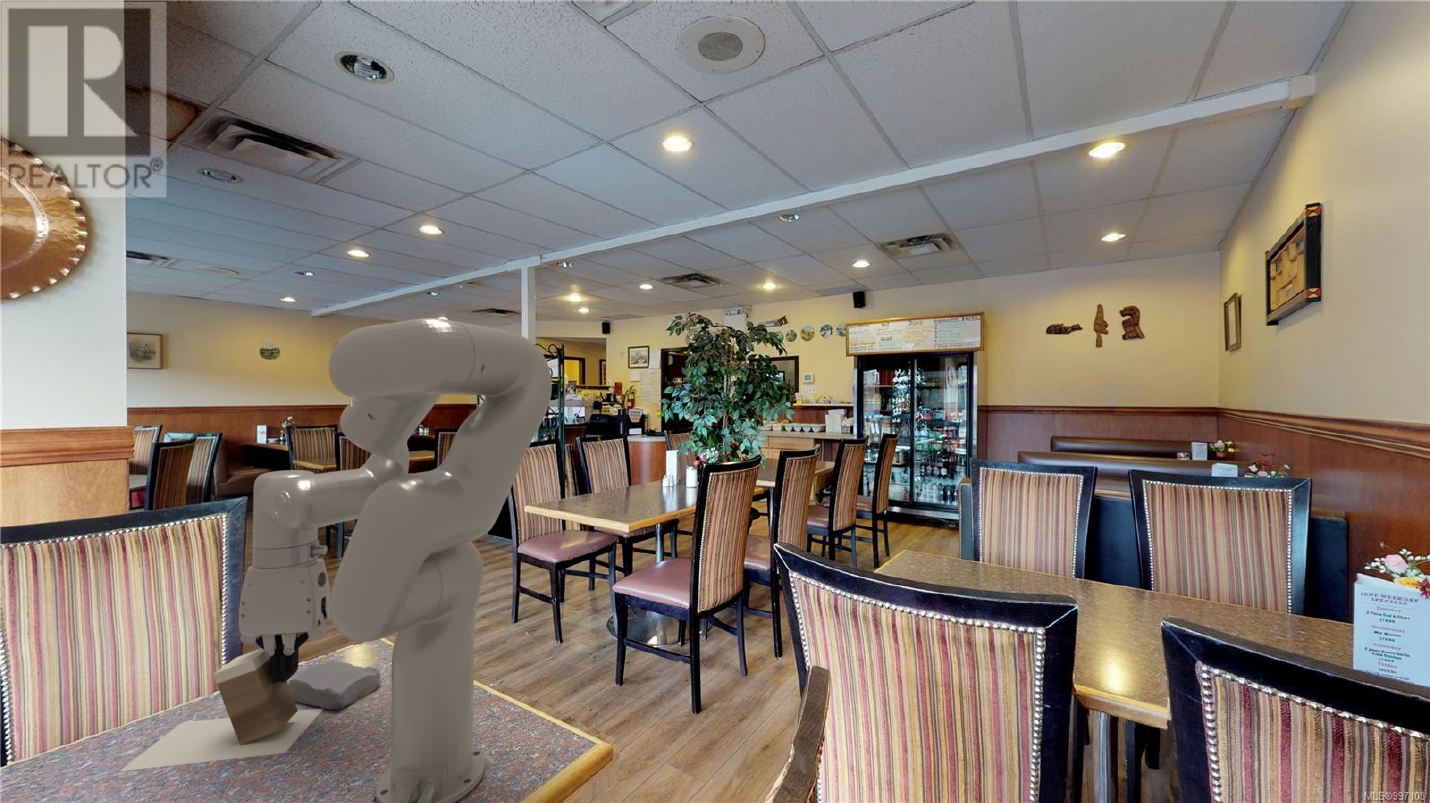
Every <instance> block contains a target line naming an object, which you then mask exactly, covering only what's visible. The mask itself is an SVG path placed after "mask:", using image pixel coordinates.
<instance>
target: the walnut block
mask: <svg viewBox="0 0 1430 803" xmlns="http://www.w3.org/2000/svg"><path fill="white" fill-rule="evenodd" d="M269 661H270V656H266V655H265V650H263V649H262V648H259V649H257V650H254V651H253V650H252V651H250V652H248V653H244V654H243V655H240V656H239V655H238V656H236V657H235V658H233V659H232V660H231V661H229V662H228V663H227V664H225V665H223V666H222V667H221V668H219V669H217V671H215V672H214V673H213V674H212V675H213V677H214V680H215V683H216V686H217V688H218V691H219V693H220V697H221V699H222V701H223V704H224V706H225V709H226V711H227V715H228V718H230V720H231V723H232V725H233V728H234V731H235V733H236V736H237V738H238V741H239V744H240V745H243V744H245V743H248V742H251V741H253V740H256V739H259V738H261V737H264V736H266V735H269V734H272V733H274V732H277V731H279V730H280V729H281V728H282V727H283V726H284V725H285V724H286V723H287V722H288V721H289V720H290V719H291V718H292V717H293V716H294V714H295V713H296V712H297V711H299V710H298V707H297V705H296V702H295V701H294V699H293V697H292V694H291V691H290V689H289V686H288V684H289V682H288V680H287V681H286V682H285V683H280V682H277V683H271V677H272V675H270V674H269Z"/></svg>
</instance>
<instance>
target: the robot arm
mask: <svg viewBox="0 0 1430 803" xmlns="http://www.w3.org/2000/svg"><path fill="white" fill-rule="evenodd" d="M328 359H329V360H328V374H329V378H330V381H331V384H332V385H333V386H334V388H335V389H336V390H337V391H338V392H340V393H341V394H342V395H345V396H347V397H350V398H352V399H351V400H350V402H349V403H348V404H347V406H346V407H345V409H344V410H343V412H342V413H341V415H340V419H339V425H340V430H341V431H342V433H343V435H344V436H345V437H346V438H347V439H348V440H349V441H350V442H351V443H352V444H354V445H355V446H357V447H358V448H361V449H362V450H364V451H366V452H368V453H371V455H370V456H369V458H368V459H367V460H366V461H365V463H364V464H362V465H361V467H359V468H354V469H345V470H336V471H328V472H321V473H315V472H313V471H310V470H304V469H303V470H302V469H301V470H300V469H290V470H285V469H284V470H276V471H271V472H270V471H269V472H265V473H262V474H260V475H258V476H257V477H256V479H255V480H254V482H253V483H254V484H253V502H252V504H253V509H252V510H253V512H252V513H253V514H252V515H253V520H252V564H251V566H249V567H248V568H247V570H246V573H245V576H244V579H243V584H242V588H241V594H240V600H239V601H240V602H239V609H238V610H239V611H238V629H239V633H240V634H241V635H240V638H239V640H240V642H242V643H247V644H254V645H255V644H256V645H257V646H258V647H259V648H260V649H263V650H265V655H266V656H270V661H269V674H270V675H272V677H271V683H277V682H280V683H285V682H286V681H287V682H288V681H289V679H291V678H292V677H293V676H294V675H296V672H297V671H298V669H299V662H300V660H299V659H300V658H299V656H300V655H299V652H300V651H299V650H300V649H299V648H301V647H302V646H303V644H305V643H306V642H307V641H312V640H314V639H318V638H322V637H323V636H324V635H325V634H326V633H327V632H328V627H327V623H326V621H328V619H329V618H330V617H331V619H332V622H333V625H334V626H335V629H336V630H337V632H339V633H340V635H342V636H343V637H344V638H346V639H348V640H350V641H353V642H356V643H357V642H358V643H359V642H360V643H369V642H374V641H378V640H382V639H384V638H387V637H389V636H392V635H394V634H396V633H397V634H396V636H395V640H394V643H393V647H392V648H393V649H392V655H391V688H390V689H391V690H390V691H391V693H390V694H391V696H390V697H391V699H390V766H389V767H388V768H387V769H386V770H385V771H384V772H383V773H382V775H381V776H380V778H379V779H378V781H377V784H376V787H375V800H376V803H456V802H457V801H460V800H461V799H462V798H464V797H465V796H467V795H468V794H469V793H470V792H471V791H473V790H474V789H475V787H476V786H477V785H478V784H479V783H480V781H481V780H482V779H483V778H482V777H483V776H484V773H485V771H486V757H485V753H484V752H483V751H482V749H480V748H479V747H478V746H476V745H475V744H474V684H475V683H474V681H475V680H474V674H475V672H474V669H475V668H474V667H475V666H474V664H475V663H474V662H475V658H474V657H475V627H476V615H477V609H478V604H479V598H480V593H481V590H482V584H483V577H484V563H483V559H482V555H481V554H480V551H479V550H478V548H477V547H476V545H475V544H474V543H473V542H472V541H474V540H477V539H479V538H481V537H483V536H484V535H486V534H487V533H488V532H489V531H491V529H492V528H493V526H494V525H495V524H496V522H497V519H498V518H499V515H500V513H501V511H502V509H503V506H504V504H505V502H506V500H507V497H508V495H509V493H510V490H511V489H512V487H513V485H514V482H515V480H516V477H517V475H518V473H519V470H520V468H521V465H522V462H523V460H524V458H525V457H526V453H527V451H528V449H529V448H530V445H531V443H532V441H533V440H534V438H535V436H536V434H537V433H538V430H539V428H540V427H541V424H542V422H543V420H544V418H545V416H546V414H547V411H548V408H549V406H550V403H551V402H550V401H551V397H552V387H553V385H552V374H551V370H550V367H549V365H548V364H549V363H548V361H547V359H546V357H545V356H544V354H543V352H542V350H540V348H539V347H538V346H537V345H536V344H534V342H533V341H531V340H530V339H528V338H527V337H525V336H522V335H521V334H518V333H516V332H513V331H509V330H506V329H501V328H496V327H490V326H485V325H478V324H473V323H467V322H462V321H455V320H451V319H450V320H449V319H445V318H444V319H443V318H433V317H432V318H430V317H427V318H414V319H408V320H402V321H396V322H390V323H382V324H376V325H375V324H374V325H370V326H369V325H368V326H363V327H360V328H357V329H354V330H352V331H350V332H348V333H346V334H345V335H344V336H343V337H341V338H340V340H339V341H338V342H337V343H336V344H335V346H334V348H333V349H332V352H331V353H330V357H329V358H328ZM443 395H456V396H458V395H461V396H465V395H466V396H470V395H471V396H481V395H482V396H484V400H483V401H482V402H481V403H480V405H479V406H478V407H477V408H476V409H475V410H473V411H472V413H470V414H469V416H467V418H465V420H464V421H463V422H462V424H461V425H460V427H459V429H458V430H457V431H456V433H455V435H454V437H453V439H452V442H451V445H450V448H449V450H448V452H447V453H446V456H445V458H444V460H443V461H442V462H441V464H440V465H439V466H438V467H436V468H434V469H432V470H429V471H428V470H427V471H421V472H416V473H409V467H410V451H409V447H408V445H407V442H408V440H409V439H410V437H411V436H412V435H413V434H414V432H415V431H416V429H418V427H419V425H420V424H421V423H422V421H423V420H424V419H425V418H426V416H428V414H429V413H430V411H431V410H432V408H433V407H434V406H435V405H436V403H437V402H438V400H439V399H440V398H441V397H442V396H443ZM408 473H409V474H408ZM354 520H357V521H356V523H355V526H354V527H353V531H352V533H351V536H350V538H349V541H348V544H347V546H346V548H345V551H344V554H343V557H342V559H341V562H340V564H339V566H338V568H337V572H336V574H335V577H334V580H333V583H332V586H331V587H332V588H331V592H330V582H329V576H328V572H327V567H326V563H325V560H324V558H318V557H320V556H325V555H326V554H327V553H328V546H327V545H321V544H320V540H319V539H318V537H319V536H318V531H319V528H321V527H327V526H331V525H334V524H339V523H345V522H347V521H354ZM330 615H331V616H330ZM285 635H286V637H285Z"/></svg>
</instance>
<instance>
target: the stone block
mask: <svg viewBox="0 0 1430 803" xmlns="http://www.w3.org/2000/svg"><path fill="white" fill-rule="evenodd" d="M380 681H381V673H380V669H379V668H376V667H375V668H374V667H372V666H366V667H363V666H357V665H353V663H352V664H351V663H350V662H349V663H348V662H344V661H343V662H342V661H338V660H337V661H335V660H334V661H333V660H331V661H328V662H323V663H317V664H314V665H313V666H309V667H307V668H305V669H303V670H301V671H298V672H297V673H295V674H294V675H293V676H292V677H291V678H290V680H289V682H288V686H289V689H290V691H291V694H292V697H293V699H294V702H295V703H300V704H304V705H309V706H312V707H319V708H320V709H323V708H324V709H323V710H325V709H326V710H337V711H340V710H343V709H344V708H345V707H347V706H349V705H352V704H354V703H355V702H357V701H358V700H359V699H362V698H363V697H366V696H368V695H370V694H371V693H373V692H374V691H375V690H376V689H377V687H378V685H379V684H380Z"/></svg>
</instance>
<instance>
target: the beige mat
mask: <svg viewBox="0 0 1430 803" xmlns="http://www.w3.org/2000/svg"><path fill="white" fill-rule="evenodd" d="M324 710H325V709H324V708H315V709H313V708H312V709H306V710H304V709H303V710H298V711H297V712H296V713H295V714H294V716H293V717H292V718H291V719H290V720H289V721H288V722H287V723H286V724H285V725H284V726H283V727H282V728H281V729H280V730H279V731H277V732H274V733H272V734H269V735H266V736H264V737H261V738H259V739H256V740H253V741H251V742H248V743H245V744H243V745H240V744H239V741H238V738H237V736H236V733H235V731H234V728H233V725H232V723H231V720H230V717H223V718H214V719H203V720H195V721H193V720H192V721H184V722H181V723H179V724H178V725H177V726H175V727H174V728H172V729H171V730H170V731H169V732H168V733H167V734H166V735H164V736H162V737H161V738H160V739H159V740H157V741H156V742H155V743H154V744H153V745H151V746H150V747H148V748H147V749H146V750H145V751H143V752H142V753H141V754H139V755H138V756H137V757H135V759H133V760H132V761H130V763H128V764H126V766H124V767H123V768H122V769H121V770H119V771H118V772H120V773H121V772H122V773H123V772H129V771H130V772H131V771H138V770H147V769H148V770H149V769H156V768H164V767H172V766H173V767H174V766H182V765H183V766H184V765H189V764H190V765H191V764H200V763H207V762H208V763H210V762H216V761H226V760H227V761H228V760H234V759H243V758H244V759H245V758H253V757H262V756H271V755H279V754H285V753H286V752H287V751H288V750H289V749H290V748H291V746H293V745H294V743H295V742H296V741H297V740H298V738H300V737H301V735H302V734H304V732H305V731H306V730H307V729H308V727H309V726H310V725H311V724H312V723H313V722H314V721H315V719H316V718H317V717H318V716H319V715H320V714H321V713H322V712H323V711H324Z"/></svg>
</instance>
